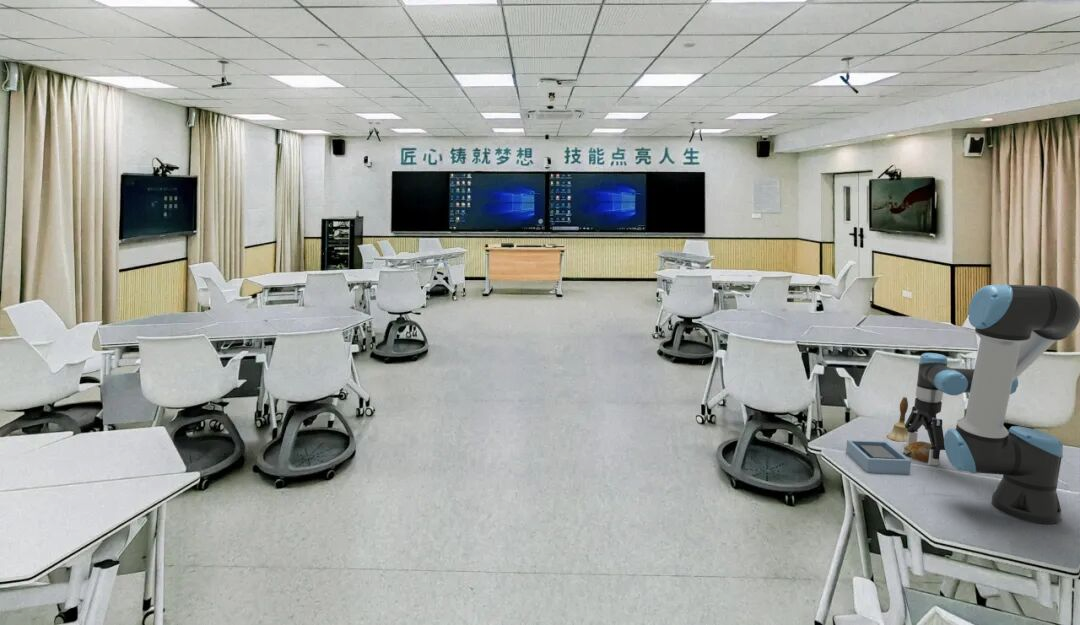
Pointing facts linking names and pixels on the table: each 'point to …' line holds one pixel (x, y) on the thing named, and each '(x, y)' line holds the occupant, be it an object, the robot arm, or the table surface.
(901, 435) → the hand bell
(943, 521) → the table surface
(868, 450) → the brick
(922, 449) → the bread roll
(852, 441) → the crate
